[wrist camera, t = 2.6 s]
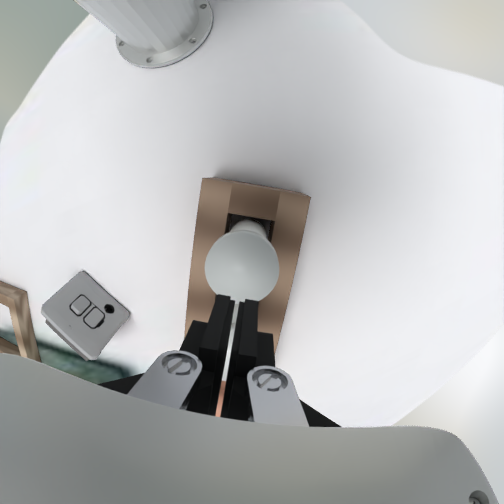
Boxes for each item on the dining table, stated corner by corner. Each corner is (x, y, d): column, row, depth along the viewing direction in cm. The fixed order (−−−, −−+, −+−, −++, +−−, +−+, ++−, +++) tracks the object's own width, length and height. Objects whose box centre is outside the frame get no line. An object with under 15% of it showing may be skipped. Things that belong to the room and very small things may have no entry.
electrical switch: (132, 312, 36) (99, 353, 27) (118, 332, 38) (87, 372, 29) (83, 268, 35) (41, 298, 26) (72, 291, 36) (34, 322, 28)
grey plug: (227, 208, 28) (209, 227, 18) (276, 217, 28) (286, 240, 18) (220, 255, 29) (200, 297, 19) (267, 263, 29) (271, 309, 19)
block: (212, 177, 31) (202, 178, 25) (301, 192, 31) (310, 196, 26) (191, 356, 38) (181, 384, 32) (262, 369, 38) (262, 397, 32)
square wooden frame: (-21, 271, 36) (-32, 277, 33) (26, 291, 36) (14, 299, 33) (-6, 339, 40) (-15, 347, 37) (42, 365, 40) (33, 375, 37)
